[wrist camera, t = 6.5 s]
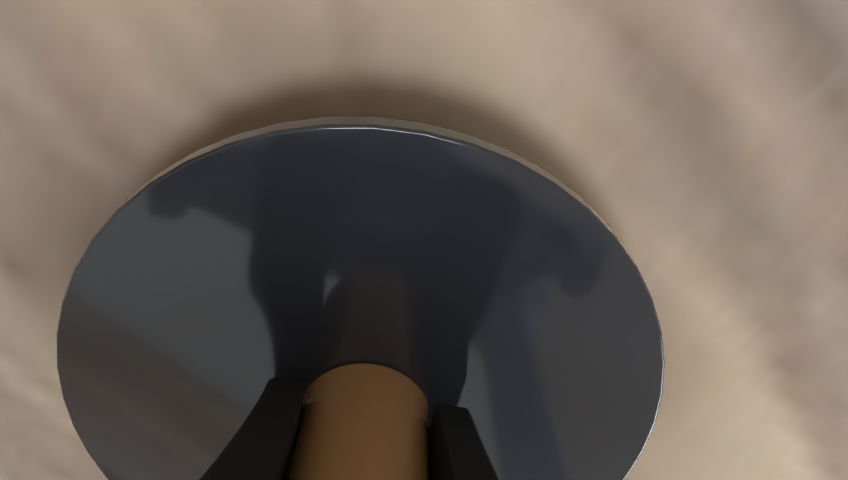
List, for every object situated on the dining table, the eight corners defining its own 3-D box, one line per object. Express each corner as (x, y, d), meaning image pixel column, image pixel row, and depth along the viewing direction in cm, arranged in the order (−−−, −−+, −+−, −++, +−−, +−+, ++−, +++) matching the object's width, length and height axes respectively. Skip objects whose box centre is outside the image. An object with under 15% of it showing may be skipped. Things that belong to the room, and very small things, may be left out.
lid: (652, 515, 16) (729, 714, 12) (204, 576, 17) (142, 779, 13) (639, 40, 10) (776, 128, 6) (-35, 174, 11) (-274, 321, 7)
